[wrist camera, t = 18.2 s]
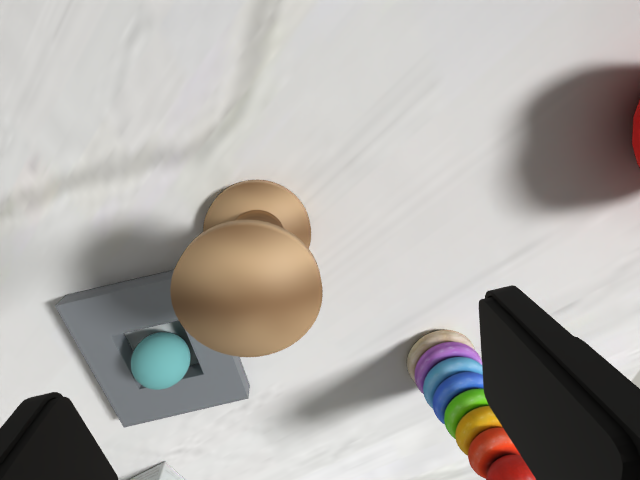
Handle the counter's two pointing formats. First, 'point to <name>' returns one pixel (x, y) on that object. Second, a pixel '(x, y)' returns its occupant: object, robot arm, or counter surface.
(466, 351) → the stacking toy
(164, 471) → the supplement box
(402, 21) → the counter surface
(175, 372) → the teal ball
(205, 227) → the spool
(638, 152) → the tomato
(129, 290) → the square hole board
